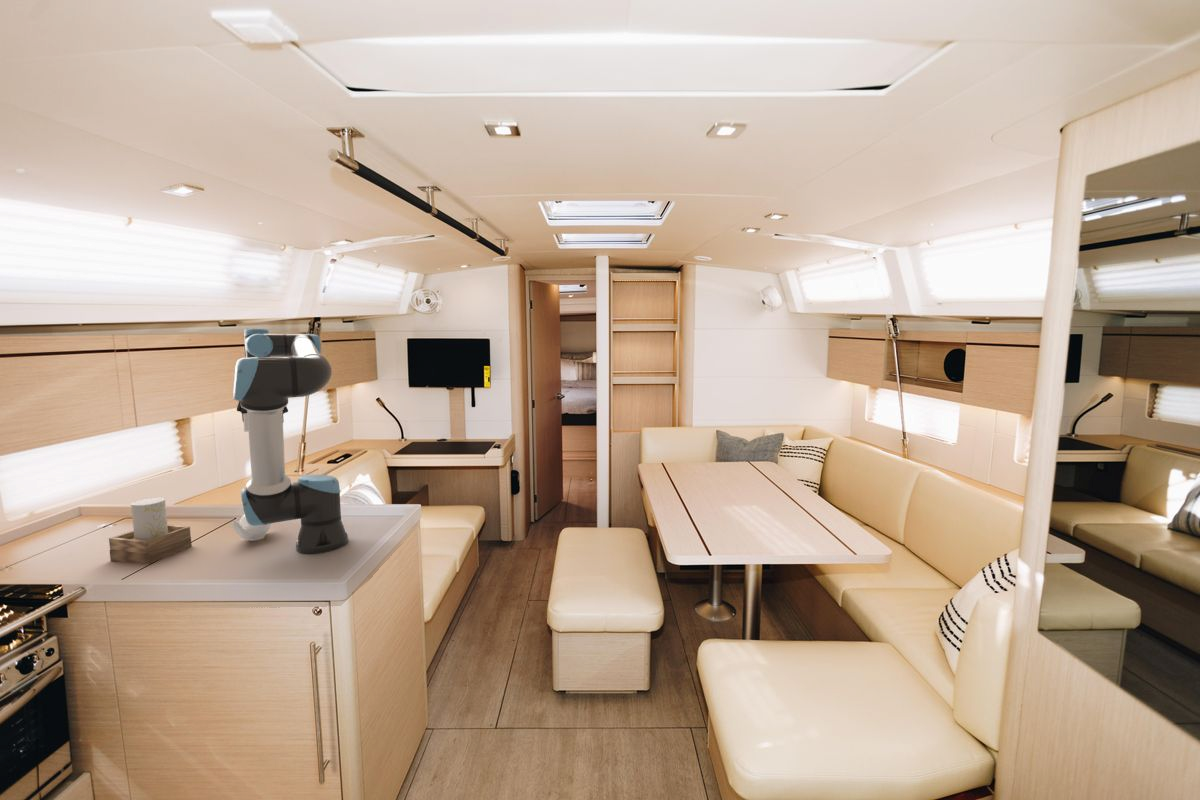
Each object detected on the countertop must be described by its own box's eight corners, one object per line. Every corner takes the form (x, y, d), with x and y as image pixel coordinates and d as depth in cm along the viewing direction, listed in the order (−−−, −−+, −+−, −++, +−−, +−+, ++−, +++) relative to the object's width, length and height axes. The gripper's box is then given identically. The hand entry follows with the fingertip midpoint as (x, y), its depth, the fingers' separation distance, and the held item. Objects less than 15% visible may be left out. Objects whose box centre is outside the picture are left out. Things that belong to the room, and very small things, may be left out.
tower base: (191, 546, 176) (190, 536, 175) (149, 564, 162) (148, 552, 162) (155, 544, 178) (154, 534, 177) (110, 561, 164) (109, 550, 164)
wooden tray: (190, 537, 175) (189, 526, 174) (145, 553, 161) (144, 542, 161) (156, 533, 178) (155, 523, 177) (109, 549, 164) (108, 538, 164)
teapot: (288, 529, 192) (286, 504, 191) (249, 551, 172) (247, 523, 171) (262, 529, 192) (260, 503, 191) (220, 550, 172) (218, 522, 171)
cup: (148, 544, 164) (145, 506, 163) (127, 542, 166) (124, 504, 165) (174, 535, 172) (171, 498, 171) (154, 533, 174) (151, 497, 173)
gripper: (297, 372, 190) (300, 431, 192) (241, 371, 196) (245, 428, 199) (279, 373, 183) (283, 435, 185) (222, 372, 189) (226, 432, 191)
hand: (263, 432), depth 192 cm, fingers open, 13 cm apart
